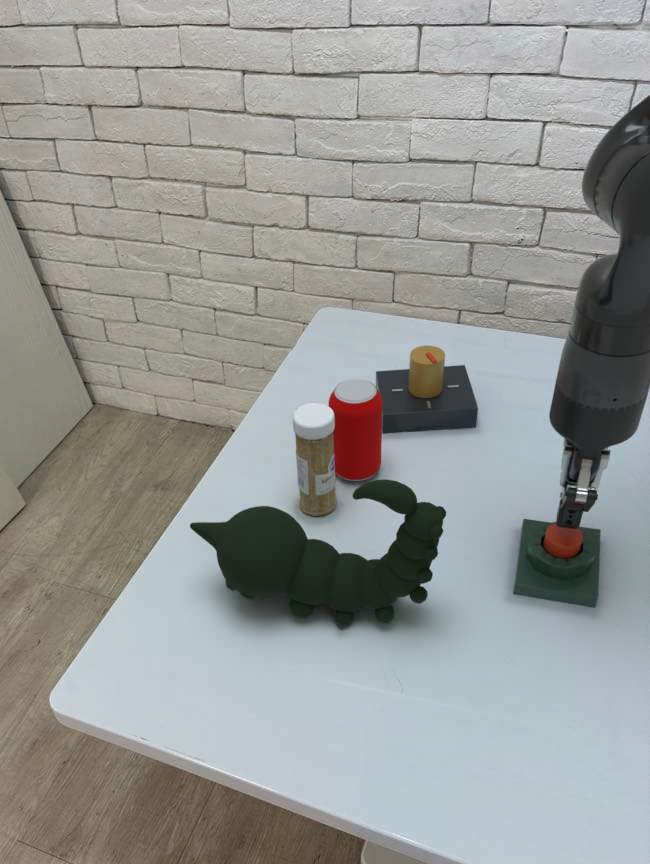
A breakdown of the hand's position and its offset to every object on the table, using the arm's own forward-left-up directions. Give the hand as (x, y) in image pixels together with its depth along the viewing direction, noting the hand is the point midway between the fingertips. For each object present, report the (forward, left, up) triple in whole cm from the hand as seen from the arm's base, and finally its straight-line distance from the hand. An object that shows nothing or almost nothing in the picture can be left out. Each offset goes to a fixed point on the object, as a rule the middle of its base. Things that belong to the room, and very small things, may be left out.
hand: (567, 522), depth 81 cm
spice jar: (+25, -12, -7) cm, 28 cm away
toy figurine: (+26, +3, -7) cm, 27 cm away
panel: (+10, -30, -6) cm, 32 cm away
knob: (+10, -30, -3) cm, 32 cm away
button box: (0, 0, -6) cm, 6 cm away
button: (0, 0, -3) cm, 3 cm away
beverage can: (+20, -18, -7) cm, 28 cm away
